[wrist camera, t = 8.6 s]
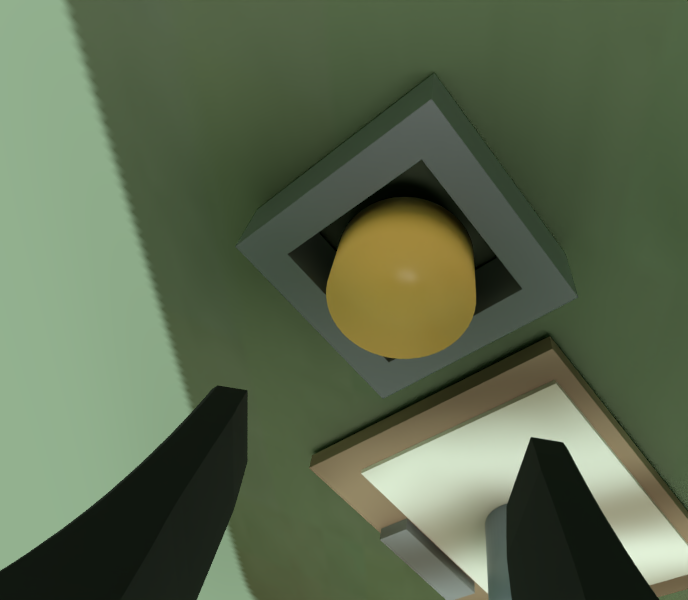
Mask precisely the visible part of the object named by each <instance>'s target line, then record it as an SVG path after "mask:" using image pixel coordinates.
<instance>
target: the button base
mask: <svg viewBox="0 0 688 600" xmlns="http://www.w3.org/2000/svg"><path fill="white" fill-rule="evenodd" d="M420 160H423V162H424V163H425V164H426V166H427V167H428V168H429V169H430V171H431V172H432V173H433V175H434V176H435V177H436V178H437V180H438V181H439V182H440V184H441V185H442V186H443V187H444V189H445V190H446V191H447V193H448V194H449V195H450V196H451V198H452V199H453V200H454V202H455V203H456V204H457V205H458V207H459V208H460V209H461V211H462V212H463V213H464V214H465V216H466V217H467V218H468V220H469V221H470V222H471V223H472V225H473V226H474V227H475V229H476V230H477V231H478V232H479V234H480V235H481V236H482V238H483V239H484V240H485V241H486V243H487V244H488V245H489V247H490V248H491V249H492V250H493V252H494V253H495V254H496V256H497V258H496V259H494V260H492V261H491V262H489V263H487V264H485V265H484V266H482V267H480V268H479V269H477V270H475V285H476V306H475V312H474V315H473V318H472V320H471V322H470V324H469V326H468V328H467V329H466V331H465V332H464V333H463V334H462V335H461V337H460V338H459V339H458V340H456V341H455V342H454V343H453V344H451V345H450V346H448V347H447V348H445V349H444V350H441V351H439V352H437V353H435V354H432V355H429V356H425V357H420V358H412V359H396V358H389V357H384V356H380V355H377V354H374V353H371V352H369V351H367V350H364V349H363V348H361V347H359V346H357V345H356V344H355V343H353V342H352V341H351V340H349V339H348V338H347V337H346V336H345V335H344V334H343V333H342V332H341V331H340V329H339V328H338V327H337V325H336V324H335V322H334V321H333V319H332V317H331V314H330V312H329V309H328V305H327V299H326V287H327V281H328V278H329V275H330V271H331V268H332V265H333V262H334V259H335V255H336V251H335V250H334V249H333V248H332V247H331V246H330V245H329V244H328V242H327V241H326V240H325V239H324V238H323V237H322V236H321V235H320V234H319V232H320V231H321V230H323V229H324V228H325V227H327V226H328V225H330V224H331V223H332V222H334V221H335V220H337V219H338V218H340V217H341V216H342V215H344V214H345V213H347V212H348V211H349V210H351V209H352V208H354V207H355V206H356V205H358V204H359V203H361V202H362V201H364V200H365V199H366V198H368V197H369V196H371V195H372V194H373V193H375V192H376V191H378V190H379V189H381V188H382V187H383V186H385V185H386V184H388V183H389V182H390V181H392V180H393V179H395V178H396V177H397V176H399V175H400V174H402V173H403V172H405V171H406V170H407V169H409V168H410V167H412V166H413V165H414V164H416V163H417V162H419V161H420ZM235 247H236V248H237V249H238V250H239V251H240V252H241V253H242V254H243V255H244V256H245V257H246V258H247V259H248V260H249V261H250V262H251V263H252V264H253V265H254V266H255V267H256V268H257V269H258V270H259V271H260V273H261V274H262V275H263V276H264V277H265V278H266V279H267V280H268V281H269V282H270V283H271V284H272V285H273V286H274V287H275V288H276V289H277V290H278V291H279V292H280V293H281V294H282V295H283V296H284V297H285V298H286V299H287V300H288V301H289V302H290V303H291V304H292V306H293V307H294V308H295V309H296V310H297V311H298V312H299V313H300V314H301V315H302V316H303V317H304V318H305V319H306V320H307V321H308V322H309V323H310V324H311V325H312V326H313V327H314V328H315V329H316V330H317V331H318V332H319V333H320V334H321V335H322V336H323V338H324V339H325V340H326V341H327V342H328V343H329V344H330V345H331V346H332V347H333V348H334V349H335V350H336V351H337V352H338V353H339V354H340V355H341V356H342V357H343V358H344V359H345V360H346V361H347V362H348V363H349V364H350V365H351V366H352V367H353V368H354V369H355V371H356V372H357V373H358V374H359V375H360V376H361V377H362V378H363V379H364V380H365V381H366V382H367V383H368V384H369V385H370V386H371V387H372V388H373V389H374V390H375V391H376V392H377V393H378V394H379V395H380V396H381V397H382V398H385V397H387V396H389V395H391V394H393V393H395V392H397V391H399V390H401V389H403V388H405V387H407V386H409V385H410V384H412V383H414V382H416V381H418V380H420V379H422V378H424V377H426V376H428V375H430V374H432V373H434V372H435V371H437V370H439V369H441V368H443V367H445V366H447V365H449V364H451V363H453V362H455V361H457V360H459V359H460V358H462V357H464V356H466V355H468V354H470V353H472V352H474V351H476V350H478V349H480V348H482V347H484V346H485V345H487V344H489V343H491V342H493V341H495V340H497V339H499V338H501V337H503V336H505V335H507V334H509V333H510V332H512V331H514V330H516V329H518V328H520V327H522V326H524V325H526V324H528V323H530V322H532V321H534V320H535V319H537V318H539V317H541V316H543V315H545V314H547V313H549V312H551V311H553V310H555V309H557V308H559V307H560V306H562V305H564V304H566V303H568V302H570V301H572V300H574V299H576V298H578V295H577V292H576V288H575V285H574V281H573V278H572V274H571V271H570V268H569V264H568V261H567V257H566V254H565V253H564V251H563V250H562V248H561V247H560V246H559V244H558V243H557V242H556V240H555V239H554V237H553V236H552V235H551V233H550V232H549V231H548V229H547V228H546V226H545V225H544V224H543V222H542V221H541V219H540V218H539V217H538V215H537V214H536V213H535V211H534V210H533V208H532V207H531V206H530V204H529V203H528V202H527V200H526V199H525V197H524V196H523V195H522V193H521V192H520V191H519V189H518V188H517V186H516V185H515V184H514V182H513V181H512V179H511V178H510V177H509V175H508V174H507V173H506V171H505V170H504V168H503V167H502V166H501V164H500V163H499V162H498V160H497V159H496V157H495V156H494V155H493V153H492V152H491V151H490V149H489V148H488V146H487V145H486V144H485V142H484V141H483V139H482V138H481V137H480V135H479V134H478V133H477V131H476V130H475V128H474V127H473V126H472V124H471V123H470V122H469V120H468V119H467V117H466V116H465V115H464V113H463V112H462V111H461V109H460V108H459V106H458V105H457V104H456V102H455V101H454V99H453V98H452V97H451V95H450V94H449V93H448V91H447V90H446V88H445V87H444V86H443V84H442V83H441V82H440V80H439V79H438V77H437V76H436V75H435V73H433V74H432V75H431V76H429V77H428V78H427V79H425V80H424V81H423V82H422V83H420V84H419V85H418V86H416V87H415V88H414V89H413V90H411V91H410V92H409V93H407V94H406V95H405V96H403V97H402V98H401V99H400V100H398V101H397V102H396V103H394V104H393V105H392V106H391V107H389V108H388V109H387V110H385V111H384V112H383V113H381V114H380V115H379V116H378V117H376V118H375V119H374V120H372V121H371V122H370V123H369V124H367V125H366V126H365V127H363V128H362V129H361V130H359V131H358V132H357V133H356V134H354V135H353V136H352V137H350V138H349V139H348V140H347V141H345V142H344V143H343V144H341V145H340V146H339V147H337V148H336V149H335V150H334V151H332V152H331V153H330V154H328V155H327V156H326V157H325V158H323V159H322V160H321V161H319V162H318V163H317V164H315V165H314V166H313V167H312V168H310V169H309V170H308V171H306V172H305V173H304V174H303V175H301V176H300V177H299V178H297V179H296V180H295V181H293V182H292V183H291V184H290V185H288V186H287V187H286V188H284V189H283V190H282V191H281V192H279V193H278V194H277V195H275V196H274V197H273V198H271V199H270V200H269V201H268V202H266V203H265V204H264V205H262V206H261V207H260V208H259V209H257V211H256V212H255V214H254V216H253V217H252V219H251V221H250V222H249V224H248V226H247V228H246V229H245V231H244V233H243V234H242V236H241V238H240V239H239V241H238V243H237V245H236V246H235Z"/></svg>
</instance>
